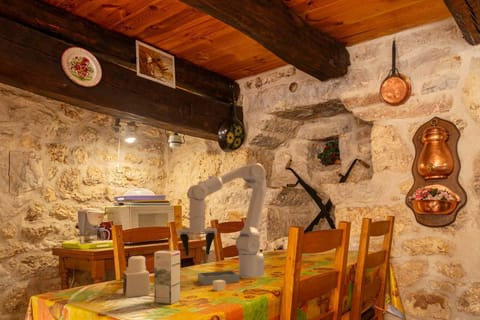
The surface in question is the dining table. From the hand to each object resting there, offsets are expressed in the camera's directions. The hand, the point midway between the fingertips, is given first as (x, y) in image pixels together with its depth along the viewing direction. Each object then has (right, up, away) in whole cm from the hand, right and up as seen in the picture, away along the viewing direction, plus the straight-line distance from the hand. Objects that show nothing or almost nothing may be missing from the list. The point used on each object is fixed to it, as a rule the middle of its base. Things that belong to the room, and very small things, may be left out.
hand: (197, 254), depth 140 cm
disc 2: (+11, -9, -2) cm, 14 cm away
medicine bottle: (-18, -8, -18) cm, 27 cm away
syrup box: (-6, -7, -29) cm, 30 cm away
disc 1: (+5, -9, -3) cm, 11 cm away
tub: (+8, -10, -3) cm, 13 cm away
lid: (+11, -9, -14) cm, 20 cm away
